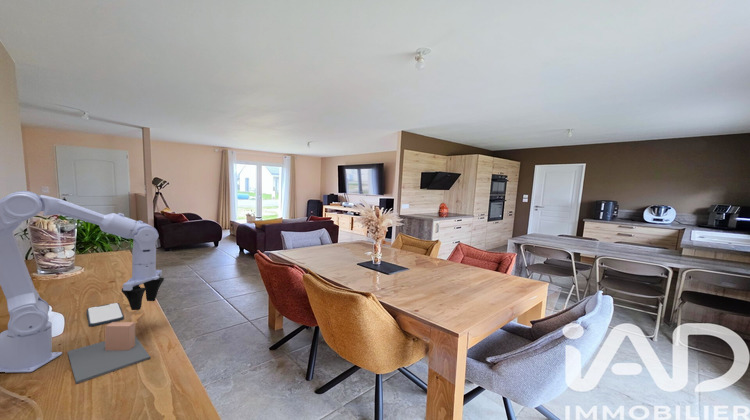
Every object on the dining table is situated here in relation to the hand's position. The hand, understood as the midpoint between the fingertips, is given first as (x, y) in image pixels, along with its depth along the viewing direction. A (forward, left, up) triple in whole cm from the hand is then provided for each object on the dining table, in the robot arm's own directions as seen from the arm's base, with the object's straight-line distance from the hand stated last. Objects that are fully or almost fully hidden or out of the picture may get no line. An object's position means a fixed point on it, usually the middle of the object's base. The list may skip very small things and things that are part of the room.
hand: (143, 305), depth 89 cm
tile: (0, -9, -9) cm, 13 cm away
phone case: (-21, +13, -10) cm, 26 cm away
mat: (-1, -12, -9) cm, 15 cm away
